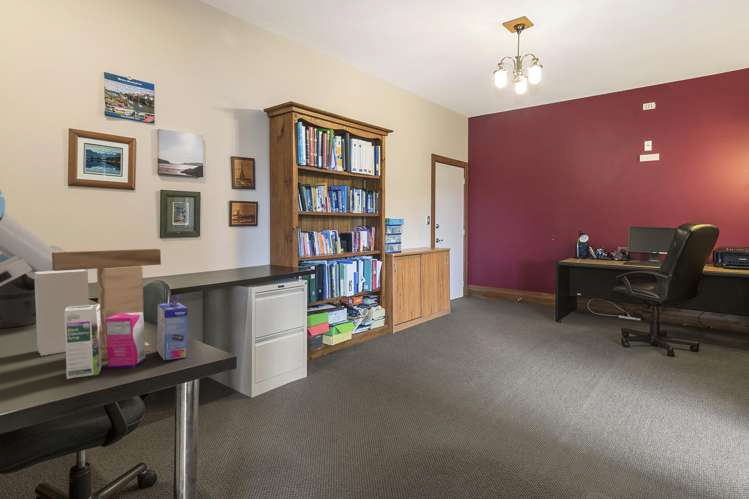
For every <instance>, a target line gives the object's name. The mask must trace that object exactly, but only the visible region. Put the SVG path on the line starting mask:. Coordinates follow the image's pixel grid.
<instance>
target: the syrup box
mask: <svg viewBox="0 0 749 499" xmlns="http://www.w3.org/2000/svg"><path fill="white" fill-rule="evenodd" d="M64 326H65V344H66V352H65V365H66V366H65V369H66V370H65V374H66V376H65V377H66V380H70V379H73V378H74V379H75V378H83V377H84V378H85V377H90V376H91V377H92V376H99V374H100V372H101V369H102V366H103V359H102V352H101V324H100V304H98V303H97V304H89V305H85V306H70V307H67V308H66V309H65V311H64Z"/></svg>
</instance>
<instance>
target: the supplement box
mask: <svg viewBox="0 0 749 499" xmlns="http://www.w3.org/2000/svg"><path fill="white" fill-rule="evenodd" d="M105 323H106V339H107V356H108V359H107V368H108V369H134V368H136V367H137V366H139V365H140V364H141V363H143V362H145V361H146V360H147V357H146V352H145V342H146V340H145V339H146V338H145V320H143V312H138V313H118V314H116V315H113V316H111V317H109V318H106V319H105Z"/></svg>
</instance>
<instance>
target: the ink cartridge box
mask: <svg viewBox="0 0 749 499" xmlns="http://www.w3.org/2000/svg"><path fill="white" fill-rule="evenodd" d="M180 298H181V296H180V295H179V294H176V295H175V297H174V298H173V300H172V302H167V303H166V302H165V303H159V304H157V332H156V333H157V338H156V340H157V342H156V344H157V345H156V346H157V349H156V350H157V352H158V354H159V356H160V357H161V359H163V361H172V360H178V359H187V358H188V310H189V309H188V307H186V306H185V305H183V304H182V303H181V302H179V301H180Z"/></svg>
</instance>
